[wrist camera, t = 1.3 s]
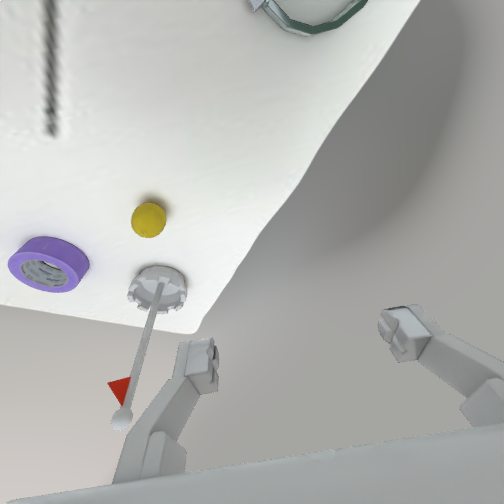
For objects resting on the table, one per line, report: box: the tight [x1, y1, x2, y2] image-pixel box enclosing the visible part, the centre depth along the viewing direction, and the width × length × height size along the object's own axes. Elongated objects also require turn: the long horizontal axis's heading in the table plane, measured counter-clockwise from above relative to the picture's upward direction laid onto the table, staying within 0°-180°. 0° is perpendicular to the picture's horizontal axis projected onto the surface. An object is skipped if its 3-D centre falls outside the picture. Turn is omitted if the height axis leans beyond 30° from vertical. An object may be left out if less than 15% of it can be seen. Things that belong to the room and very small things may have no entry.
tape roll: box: [8, 237, 89, 293], centre depth 46 cm, size 12×12×5 cm
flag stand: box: [108, 266, 187, 431], centre depth 45 cm, size 13×13×30 cm
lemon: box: [131, 203, 166, 238], centre depth 39 cm, size 6×6×8 cm
